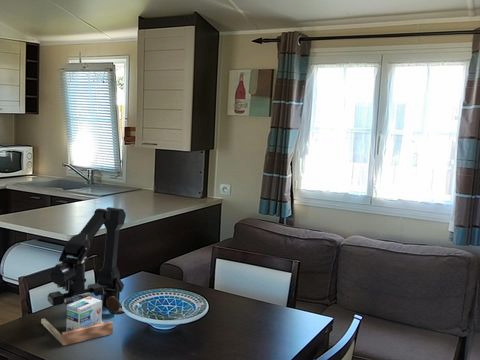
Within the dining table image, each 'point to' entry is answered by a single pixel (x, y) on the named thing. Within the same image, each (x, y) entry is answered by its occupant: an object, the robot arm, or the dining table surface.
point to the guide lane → (80, 332)
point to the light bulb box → (84, 313)
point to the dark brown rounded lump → (114, 305)
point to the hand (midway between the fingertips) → (76, 316)
